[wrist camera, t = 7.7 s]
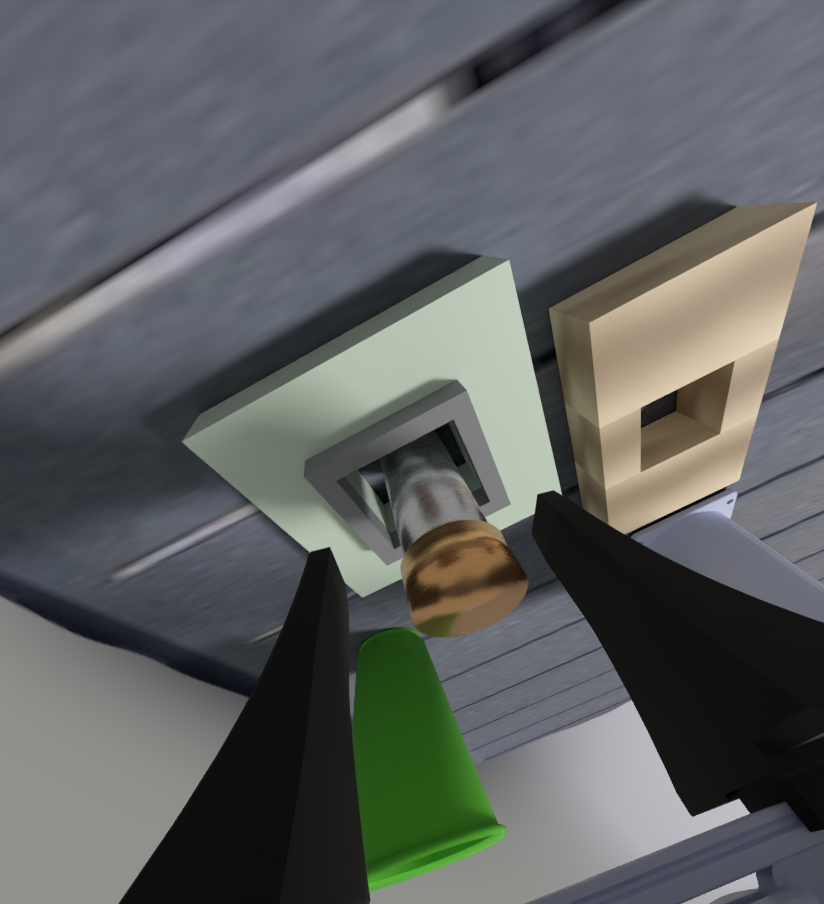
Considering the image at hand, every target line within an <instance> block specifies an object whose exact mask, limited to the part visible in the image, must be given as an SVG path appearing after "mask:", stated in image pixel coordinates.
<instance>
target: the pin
mask: <svg viewBox="0 0 824 904" xmlns="http://www.w3.org/2000/svg"><path fill="white" fill-rule="evenodd" d="M379 460H380V464H381V468H382V472H383V476H384V480H385V484H386V488H387V492H388V496H389V500H390V504H391V508H392V512H393V516H394V520H395V524H396V528H397V533H398V537H399V541H400V545H401V549H402V553H403V559H402V561H401V566H400V571H401V576H402V580H403V584H404V589H405V593H406V597H407V602H408V606H409V610H410V615H411V619H412V623H413V625H414V627H415V628H416V629H417V630H419V631H420V632H422V633H424V634H426V635H429V636H434V637H454V636H460V635H465V634H469V633H472V632H475V631H478V630H481V629H483V628H486V627H488V626H490V625H492V624H494V623H496V622H497V621H499V620H501V619H502V618H504V617H505V616H506V615H508V614H509V613H510V612H511V611H513V610H514V609H515V608H516V607H517V606H518V604H519V603H520V602H521V601H522V599H523V598H524V596H525V594H526V592H527V589H528V578H527V576H526V574H525V572H524V571H523V569H522V567H521V565H520V564H519V562H518V560H517V559H516V557H515V555H514V554H513V552H512V550H511V549H510V547H509V545H508V543H507V542H506V540H505V538H504V537H503V535H502V533H501V532H500V530H499V529H498V528H497V527H495V526H494V525H492V524H490V523H488V522H487V520H486V518H485V516H484V515H483V513H482V511H481V509H480V508H479V506H478V504H477V502H476V500H475V499H474V497H473V495H472V493H471V492H470V490H469V488H468V486H467V485H466V483H465V481H464V479H463V477H462V476H461V474H460V472H459V470H458V469H457V467H456V465H455V463H454V462H453V460H452V458H451V456H450V455H449V453H448V451H447V449H446V447H445V446H444V444H443V442H442V440H441V439H440V437H439V435H438V433H437V432H436V430H435V429H434V430H433V431H431V432H429V433H427V434H425V435H423V436H421V437H419V438H417V439H415V440H413V441H412V442H410V443H408V444H406V445H404V446H402V447H400V448H398V449H396V450H394V451H392V452H391V453H389V454H387V455H385V456H383V457H381V458H379Z"/></svg>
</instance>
